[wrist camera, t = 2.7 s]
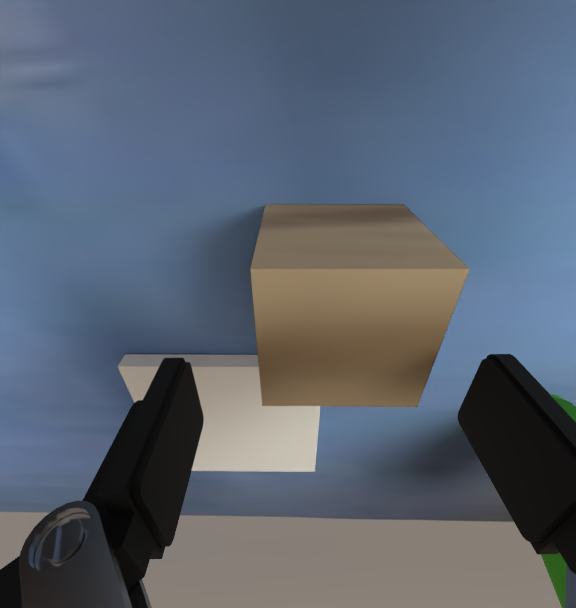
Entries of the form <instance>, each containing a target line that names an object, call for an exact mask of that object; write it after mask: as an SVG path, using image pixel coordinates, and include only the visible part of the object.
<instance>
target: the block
mask: <svg viewBox="0 0 576 608" xmlns="http://www.w3.org/2000/svg"><path fill="white" fill-rule="evenodd" d="M250 270H251V282H252V294H253V305H254V317H255V329H256V340H257V352H258V363H259V375H260V387H261V398H262V406H373V407H417V406H418V403H419V401H420V398H421V396H422V393H423V390H424V388H425V385H426V382H427V380H428V377H429V375H430V372H431V369H432V367H433V364H434V362H435V359H436V356H437V354H438V351H439V348H440V346H441V343H442V341H443V338H444V335H445V333H446V330H447V327H448V325H449V322H450V320H451V317H452V314H453V312H454V309H455V306H456V304H457V301H458V299H459V296H460V293H461V291H462V288H463V286H464V283H465V280H466V278H467V275H468V272H469V270H470V269H469V268H468V267H467V266H466V265H465V264H464V263H463V262H462V261H461V260H460V259H459V258H458V257H457V256H456V255H455V254H454V253H453V252H452V251H451V250H450V249H449V248H448V247H447V246H446V245H445V244H444V243H443V242H442V241H441V240H440V239H439V238H438V237H437V236H436V235H435V234H434V233H433V232H432V231H431V230H430V229H429V228H428V227H426V226H425V225H424V224H423V223H422V222H421V221H420V220H419V219H418V218H417V217H416V216H415V215H414V214H413V213H412V212H411V211H410V210H409V209H408V208H407V207H406V206H405V205H404V204H266V205H265V209H264V213H263V218H262V222H261V226H260V230H259V235H258V239H257V243H256V247H255V251H254V256H253V260H252V264H251V268H250Z"/></svg>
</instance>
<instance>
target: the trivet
mask: <svg viewBox="0 0 576 608" xmlns="http://www.w3.org/2000/svg"><path fill="white" fill-rule="evenodd" d="M164 358H184V359H185V362H190V363H191V367H192V371H193V375H194V379H195V383H196V387H197V391H198V395H199V400H200V404H201V408H202V412H203V417H204V422H203V428H202V432H201V436H200V440H199V443H198V447H197V451H196V455H195V459H194V463H193V466H192V470H191V471H277V472H315V463H316V451H317V440H318V428H319V417H320V406H262V398H261V387H260V375H259V363H258V355H189V354H125V355H124V357H123V359H122V360H121V362H120V363H119V365H118V366H117V367H118V369H119V371H120V373H121V375H122V377H123V379H124V381H125V384H126V386H127V388H128V390H129V392H130V394H131V396H132V399H133V401H134V403H135V402H136V401H138V400H143V399H144V397H145V394H146V392H147V390H148V388H149V386H150V384H151V382H152V380H153V378H154V376H155V374H156V372H157V370H158V368H159V366H160V364H161V362H162V360H163V359H164Z"/></svg>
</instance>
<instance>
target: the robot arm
mask: <svg viewBox="0 0 576 608" xmlns="http://www.w3.org/2000/svg"><path fill="white" fill-rule="evenodd" d="M458 421H459V424H460V426H461V427H462V429H463V431H464V433H465V435H466V436H467V438H468V440H469V442H470V443H471V445H472V447H473V449H474V451H475V452H476V454H477V456H478V458H479V460H480V461H481V463H482V465H483V467H484V469H485V470H486V472H487V474H488V476H489V477H490V479H491V481H492V483H493V485H494V486H495V488H496V490H497V492H498V494H499V495H500V497H501V499H502V501H503V503H504V504H505V506H506V508H507V510H508V512H509V513H510V515H511V517H512V519H513V520H514V522H515V524H516V526H517V528H518V529H519V531H520V533H521V534H522V536H523V537H524V538H525V539H526V540H528V541H529V542H531V544H532V546H533V548H534V550H535V551H536V553H537V554H558V553H559V552H560V554H561V556H562V557H563V559H564V560H565V562H566V564H567V566H566V590H565V608H576V422H575V421H574V420H573V419H572V418H571V417H570V416H569V415H568V413H567V412H566V411H565V410H564V409H563V408H562V407H561V406H560V405H559V404H558V403H557V402H556V401H555V400H554V398H553V397H552V396H551V395H550V394H549V393H548V392H547V391H546V390H545V389H544V388H543V387H542V386H541V385H540V384H539V382H538V381H537V380H536V379H535V378H534V377H533V376H532V375H531V374H530V373H529V372H528V371H527V370H526V369H525V367H524V366H523V365H522V364H521V363H520V362H519V361H518V360H517V359H516V358H515V357H514V356H513V355H510V354H491V355H488V356H487V358H486V359H484V360H482V362H481V364H480V366H479V368H478V370H477V373H476V375H475V377H474V379H473V381H472V384H471V386H470V388H469V390H468V392H467V395H466V397H465V399H464V401H463V403H462V405H461V408H460V410H459V412H458ZM203 422H204V417H203V412H202V408H201V404H200V400H199V395H198V391H197V387H196V383H195V379H194V375H193V371H192V367H191V363H190V362H185V359H184V358H164V359H163V360H162V362H161V364H160V366H159V368H158V370H157V372H156V374H155V376H154V378H153V380H152V382H151V384H150V386H149V388H148V390H147V392H146V394H145V397H144V399H143V400H138V401H136V402H135V403H134V404H133V406H132V407H131V409H130V411H129V413H128V415H127V416H126V418H125V420H124V422H123V424H122V426H121V428H120V430H119V432H118V434H117V436H116V438H115V439H114V441H113V443H112V445H111V447H110V449H109V451H108V453H107V455H106V457H105V459H104V461H103V463H102V464H101V466H100V468H99V470H98V472H97V474H96V476H95V478H94V480H93V482H92V484H91V486H90V487H89V489H88V491H87V493H86V495H85V497H84V499H83V501H74V502H69V503H66V504H64V505H62V506H60V507H58V508H56V509H55V510H53V511H52V512H51V513H49V514H48V515H47V516H45V517H44V518H43V519H42V520H41V521H40V522H39V523H38V524H37V525H36V526H35V527H34V529H33V530H32V531H31V533H30V534H29V536H28V537H27V539H26V540H25V543H24V545H23V547H22V550H21V553H20V556H19V557H17V558H16V559H15V560H13V561H12V562H11V563H9V564H8V565H6V566H5V567H4V568H2V569H1V570H0V608H152V607H151V604H150V601H149V598H148V595H147V592H146V589H145V586H144V584H143V581H142V578H143V577H144V576H145V573H146V570H147V567H148V563H149V560H150V559H162V557H163V553H164V549H165V546H170V545H171V543H172V541H173V539H174V535H175V531H176V528H177V524H178V520H179V516H180V512H181V508H182V505H183V501H184V497H185V493H186V489H187V486H188V482H189V478H190V474H191V470H192V466H193V463H194V459H195V455H196V451H197V447H198V443H199V440H200V436H201V432H202V428H203Z"/></svg>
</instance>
